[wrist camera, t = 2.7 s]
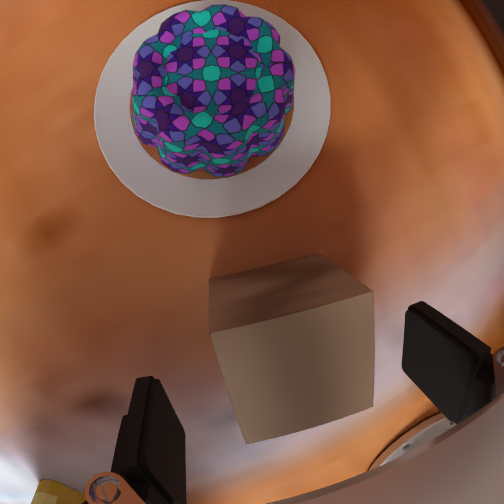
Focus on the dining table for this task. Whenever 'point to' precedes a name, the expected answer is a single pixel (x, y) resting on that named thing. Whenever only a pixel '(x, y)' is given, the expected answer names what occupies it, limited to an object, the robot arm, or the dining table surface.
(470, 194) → the dining table surface
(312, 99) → the pudding
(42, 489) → the book
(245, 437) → the walnut cube
